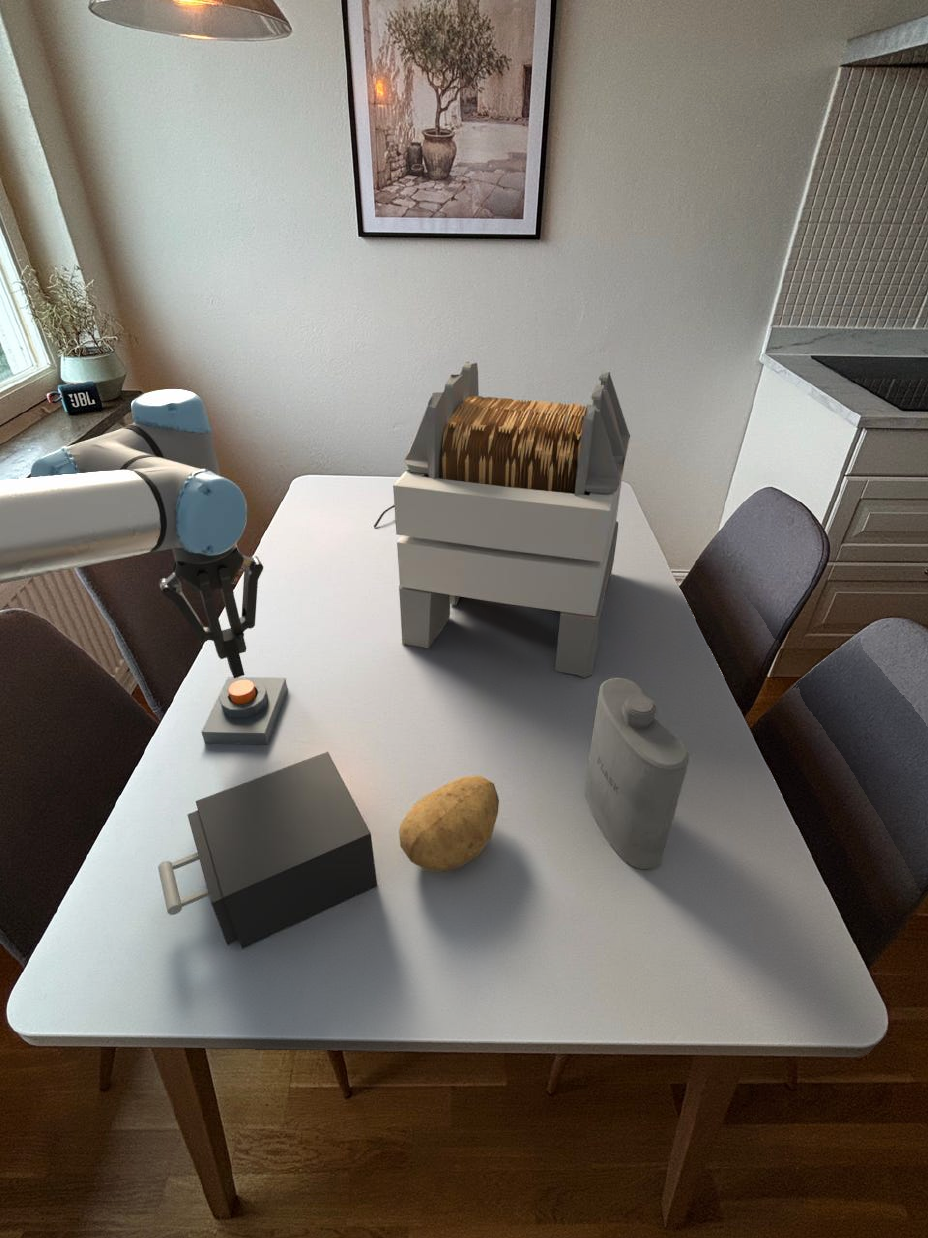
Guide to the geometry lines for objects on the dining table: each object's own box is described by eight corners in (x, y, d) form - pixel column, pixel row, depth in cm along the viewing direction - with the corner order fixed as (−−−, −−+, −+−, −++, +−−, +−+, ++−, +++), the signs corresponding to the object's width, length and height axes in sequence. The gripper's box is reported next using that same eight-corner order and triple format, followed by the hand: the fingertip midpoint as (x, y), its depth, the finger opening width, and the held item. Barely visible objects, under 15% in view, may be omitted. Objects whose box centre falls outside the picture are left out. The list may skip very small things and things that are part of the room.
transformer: (454, 550, 142) (451, 346, 118) (612, 572, 135) (643, 359, 111) (397, 646, 115) (380, 407, 92) (591, 680, 108) (626, 429, 84)
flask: (573, 782, 91) (588, 665, 79) (612, 772, 92) (633, 656, 81) (625, 877, 79) (652, 757, 68) (670, 864, 81) (704, 745, 69)
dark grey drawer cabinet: (241, 950, 72) (223, 897, 67) (213, 853, 82) (195, 801, 76) (377, 886, 78) (370, 833, 73) (336, 803, 88) (327, 751, 83)
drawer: (185, 965, 70) (165, 923, 66) (164, 872, 79) (146, 829, 74) (356, 886, 77) (349, 843, 73) (320, 809, 86) (312, 766, 82)
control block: (267, 744, 97) (262, 724, 94) (204, 743, 97) (198, 722, 95) (287, 688, 107) (283, 668, 104) (230, 687, 107) (225, 667, 104)
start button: (252, 705, 98) (249, 696, 97) (227, 704, 98) (225, 695, 97) (259, 688, 101) (257, 679, 100) (235, 688, 101) (232, 679, 100)
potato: (520, 832, 84) (523, 788, 80) (440, 909, 76) (439, 865, 71) (462, 790, 90) (462, 747, 85) (382, 857, 82) (377, 814, 77)
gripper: (244, 499, 88) (274, 643, 102) (137, 522, 83) (184, 670, 97) (259, 522, 83) (289, 671, 97) (146, 548, 78) (194, 702, 91)
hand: (236, 671), depth 97 cm, fingers closed
